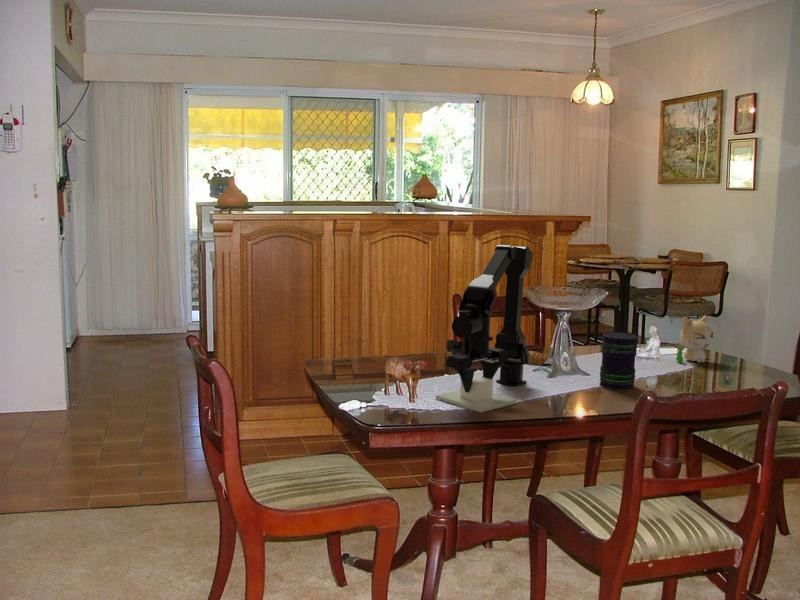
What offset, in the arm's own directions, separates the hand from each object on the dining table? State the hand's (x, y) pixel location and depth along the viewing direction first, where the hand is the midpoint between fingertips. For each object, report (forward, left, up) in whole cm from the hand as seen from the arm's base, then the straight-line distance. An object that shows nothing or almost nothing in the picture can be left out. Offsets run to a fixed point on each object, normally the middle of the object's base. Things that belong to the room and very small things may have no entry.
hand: (476, 390), depth 223 cm
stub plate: (0, 0, -3) cm, 3 cm away
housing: (0, 0, -2) cm, 2 cm away
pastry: (-50, -20, -3) cm, 54 cm away
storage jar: (-45, +14, -3) cm, 47 cm away
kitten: (-95, +11, -3) cm, 96 cm away
